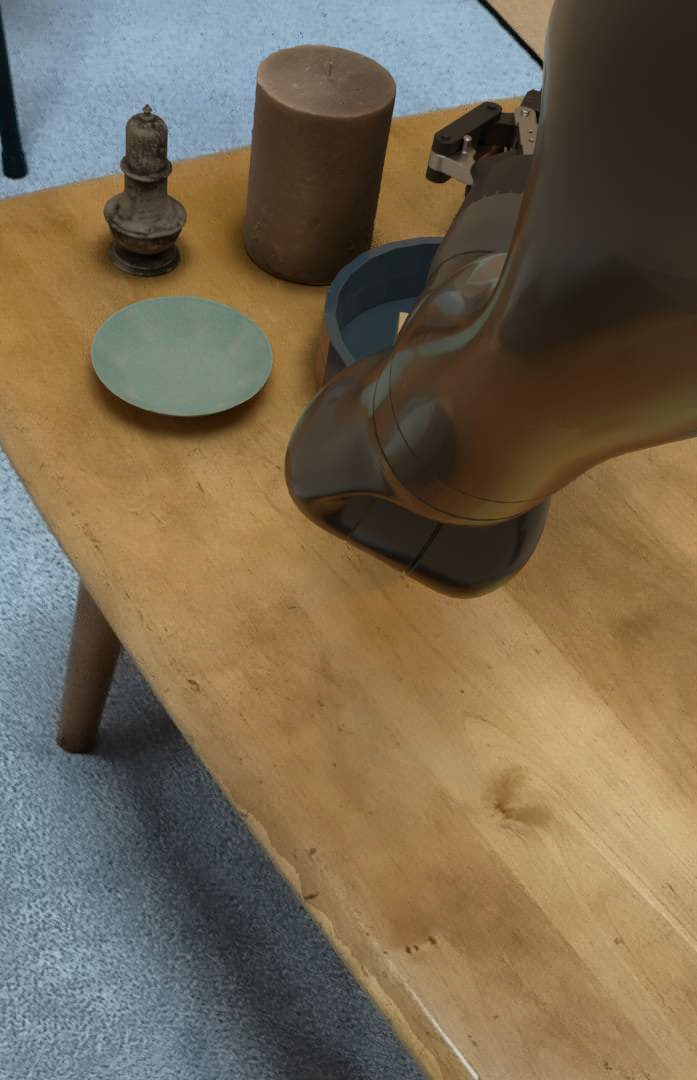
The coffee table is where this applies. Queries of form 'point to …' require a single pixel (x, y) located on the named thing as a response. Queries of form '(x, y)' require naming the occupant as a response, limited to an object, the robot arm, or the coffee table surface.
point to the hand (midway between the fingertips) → (585, 113)
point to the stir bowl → (370, 302)
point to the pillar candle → (316, 160)
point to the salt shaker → (145, 203)
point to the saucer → (181, 356)
